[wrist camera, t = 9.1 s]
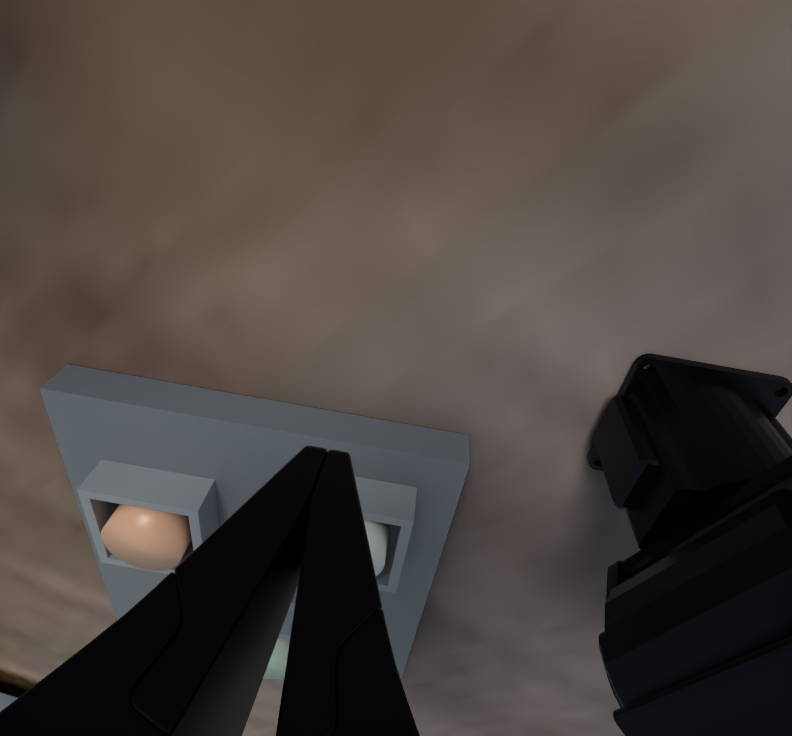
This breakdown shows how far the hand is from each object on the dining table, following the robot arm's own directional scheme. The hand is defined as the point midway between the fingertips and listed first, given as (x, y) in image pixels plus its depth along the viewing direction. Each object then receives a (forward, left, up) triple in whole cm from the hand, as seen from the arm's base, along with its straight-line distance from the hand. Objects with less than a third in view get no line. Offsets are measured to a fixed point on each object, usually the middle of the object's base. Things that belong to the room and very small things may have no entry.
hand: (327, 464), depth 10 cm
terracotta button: (+10, +16, -9) cm, 21 cm away
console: (+5, +20, -12) cm, 24 cm away
